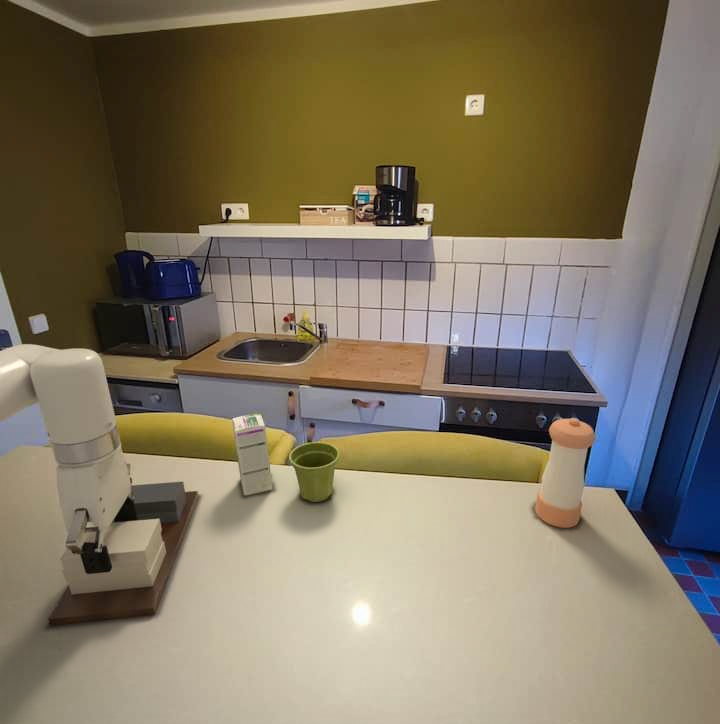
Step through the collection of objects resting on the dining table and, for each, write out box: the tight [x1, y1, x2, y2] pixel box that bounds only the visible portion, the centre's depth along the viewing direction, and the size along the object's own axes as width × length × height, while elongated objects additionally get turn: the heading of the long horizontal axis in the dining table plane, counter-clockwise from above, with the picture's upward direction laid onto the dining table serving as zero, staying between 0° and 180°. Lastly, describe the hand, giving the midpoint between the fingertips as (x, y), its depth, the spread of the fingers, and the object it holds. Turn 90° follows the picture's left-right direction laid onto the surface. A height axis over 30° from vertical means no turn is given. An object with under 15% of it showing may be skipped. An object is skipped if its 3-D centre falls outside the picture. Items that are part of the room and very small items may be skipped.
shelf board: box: [47, 490, 199, 626], centre depth 70 cm, size 14×26×1 cm, turn 7°
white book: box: [60, 519, 162, 570], centre depth 62 cm, size 11×7×2 cm, turn 97°
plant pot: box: [288, 441, 340, 503], centre depth 82 cm, size 9×9×9 cm
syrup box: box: [231, 413, 273, 496], centre depth 83 cm, size 6×6×14 cm
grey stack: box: [112, 481, 186, 523], centre depth 75 cm, size 11×5×5 cm, turn 97°
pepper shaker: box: [534, 417, 596, 529], centre depth 74 cm, size 7×7×19 cm
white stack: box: [62, 533, 166, 594], centre depth 63 cm, size 11×7×4 cm, turn 97°
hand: (114, 545), depth 62 cm, fingers open, 9 cm apart
